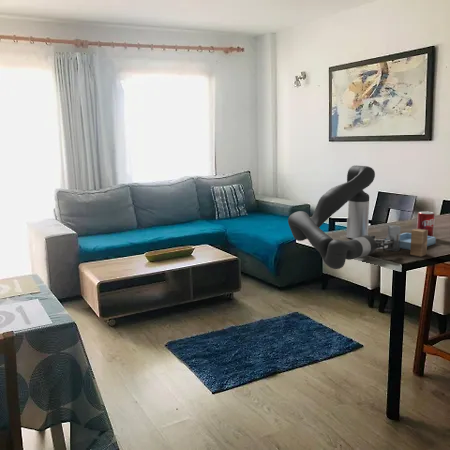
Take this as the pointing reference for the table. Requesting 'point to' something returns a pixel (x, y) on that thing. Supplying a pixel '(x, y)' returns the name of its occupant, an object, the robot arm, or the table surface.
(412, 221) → the table surface
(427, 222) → the soda can
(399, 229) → the metal cylinder
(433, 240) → the tote
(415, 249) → the brown rectangular block
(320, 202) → the robot arm
